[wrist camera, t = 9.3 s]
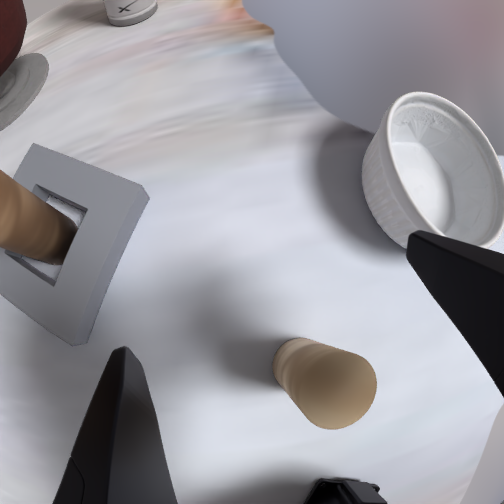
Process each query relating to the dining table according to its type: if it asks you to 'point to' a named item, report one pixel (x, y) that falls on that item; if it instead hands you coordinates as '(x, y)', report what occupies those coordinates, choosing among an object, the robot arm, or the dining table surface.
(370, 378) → the short beech pin
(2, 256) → the socket board
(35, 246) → the walnut pin
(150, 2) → the travel mug
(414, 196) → the ramekin
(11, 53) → the mate gourd
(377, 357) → the dining table surface
